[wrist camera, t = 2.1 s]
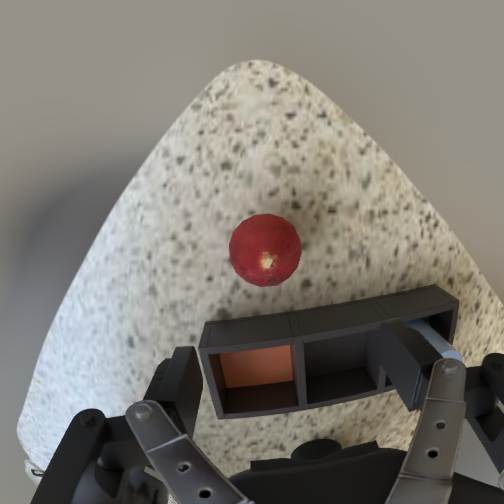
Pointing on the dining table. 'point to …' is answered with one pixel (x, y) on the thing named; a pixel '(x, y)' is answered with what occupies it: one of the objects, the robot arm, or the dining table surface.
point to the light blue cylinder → (434, 338)
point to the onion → (265, 250)
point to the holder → (311, 353)
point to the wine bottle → (316, 449)
